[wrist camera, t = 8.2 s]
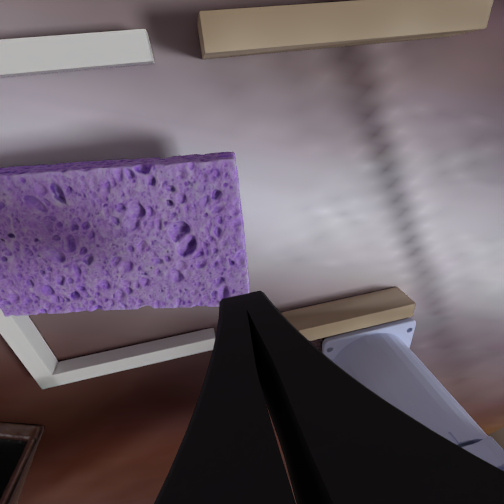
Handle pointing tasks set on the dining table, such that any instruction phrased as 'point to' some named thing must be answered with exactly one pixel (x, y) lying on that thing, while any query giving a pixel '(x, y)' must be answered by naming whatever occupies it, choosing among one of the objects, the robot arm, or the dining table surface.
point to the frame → (21, 327)
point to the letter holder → (16, 457)
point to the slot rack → (327, 36)
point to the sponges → (121, 235)
